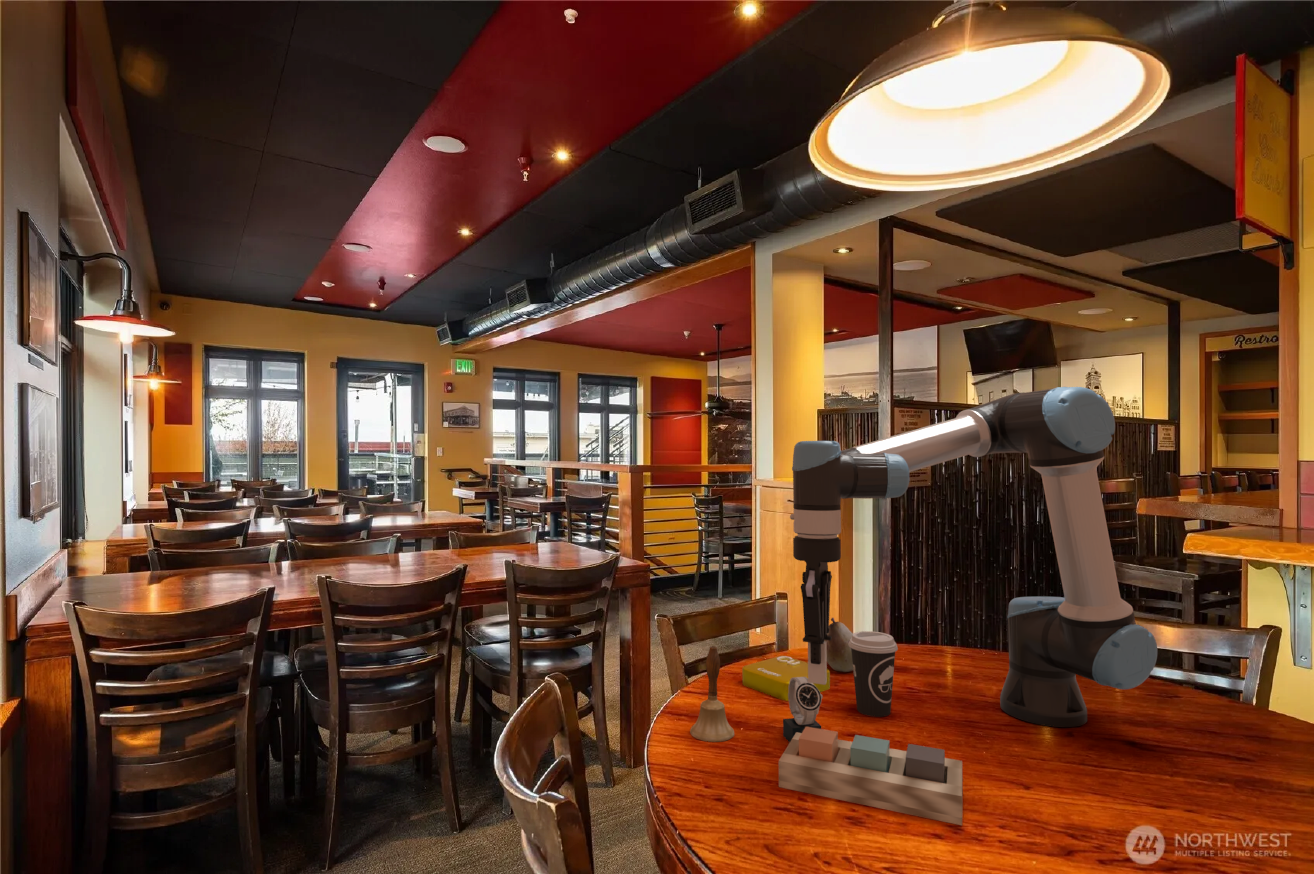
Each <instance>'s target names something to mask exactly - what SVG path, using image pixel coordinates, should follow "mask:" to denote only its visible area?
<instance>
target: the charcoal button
mask: <svg viewBox="0 0 1314 874" xmlns="http://www.w3.org/2000/svg"><path fill="white" fill-rule="evenodd" d="M906 751H907V753H906V776H908V777H913V778H918V779H924V780H929V781H934V782H940V783H945V758H946V756H945V755H946V753H945V751H946V750H945V749H942V748H937V747H936V748H935V747H931V746H923V745H918V744H913V743H911V744H910V743H907V749H906Z"/></svg>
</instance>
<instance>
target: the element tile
mask: <svg viewBox="0 0 1314 874" xmlns="http://www.w3.org/2000/svg"><path fill="white" fill-rule="evenodd" d="M741 670H742V673H741V674H742V675H741V676H742V686H744V687H746V688H749V689H751V688H752V690H754V691H757V692H760V693H762V692H763V694H766V695H768V696H770V695H771V697H774V698H776V699H779V700H782V701H784V702H785V701H786V702H789V699H788V693H789V691H788V690H789V689H788V688H789V682H790V679H791V678H794V677H806V678H808V661H807V662H806V661H803V660H800V659H796V658H793V657H791V656H786V655H779V656H778V655H777V656H775V657H771V658H767V659H765V660H761V661H757V662H752V663H749V664H745V665H744V666H742V669H741ZM813 684H814V685H815V686H816V687H817V688H818V690H819V691H820V693H822V692H825V691H828V690H830V688H831V671H830V669H828V668H827V682H826V684H825V685H823V684H816V683H813Z"/></svg>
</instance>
